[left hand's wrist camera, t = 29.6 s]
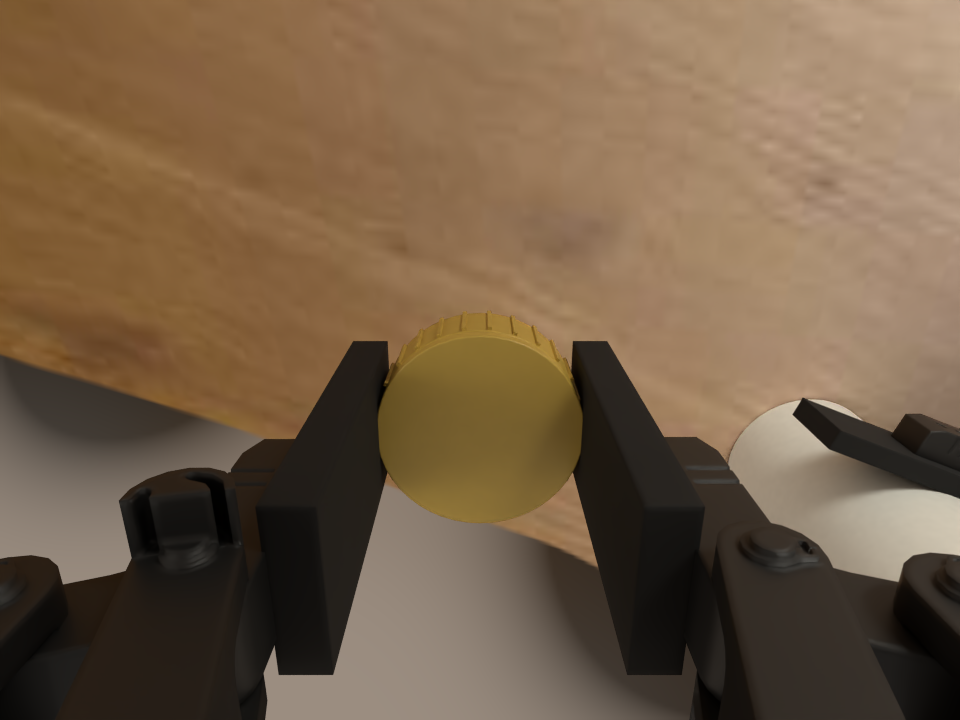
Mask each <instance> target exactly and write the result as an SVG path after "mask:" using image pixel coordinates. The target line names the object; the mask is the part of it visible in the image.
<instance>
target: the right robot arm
mask: <svg viewBox="0 0 960 720" xmlns="http://www.w3.org/2000/svg"><path fill="white" fill-rule="evenodd" d="M792 415H793V416H794V417H795V418H796V419H797V420H798V421H799V422H800V423H801V424H803V425H804V426H805V427H806V428H807V429H808V430H809V431H810V432H811V433H812V434H813V435H814V436H815V437H816V438H817V439H818V440H819V441H821V442H822V443H823V444H824V445H825V446H826V447H827V448H828V449H829V450H832V451H834V452H837V453H840V454H842V455H845V456H848V457H850V458H853V459H856V460H858V461H861V462H864V463H866V464H869V465H871V466H874V467H877V468H879V469H882V470H885V471H887V472H890V473H893V474H895V475H898V476H901V477H903V478H906V479H908V480H911V481H914V482H916V483H919V484H922V485H924V486H927V487H930V488H932V489H935V490H938V491H940V492H943V493H945V494H948V495H951V496H953V497H956V498H959V499H960V429H958V428H955V427H953V426H950V425H948V424H944V423H943V422H940V421H937V420H934V419H932V418H930V417H927V416H925V415H922V414H906V415H905V416H904V417H903V419H902V420H901V422H900V423H899V425H898V426H897V428H896V429H895V430H894V432H890V431H887V430H885V429H882V428H880V427H877V426H874V425H872V424H869V423H867V422H864V421H862V420H859V419H856V418H854V417H851V416H849V415H846V414H844V413H841V412H838V411H836V410H833V409H831V408H828V407H826V406H823V405H820V404H818V403H815V402H813V401H810V400H807V399H805V398H802V400H801V401H800V403H799V405H798V406H797V408H796V409H795V411H794V413H793V414H792Z"/></svg>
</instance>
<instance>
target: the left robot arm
mask: <svg viewBox="0 0 960 720" xmlns="http://www.w3.org/2000/svg"><path fill="white" fill-rule="evenodd" d="M388 372H389V361H388V342H387V341H353V343H352V344H351V346H350V348H349V349H348V351H347V353H346V354H345V356H344V358H343V359H342V361H341V363H340V365H339V366H338V368H337V370H336V371H335V373H334V375H333V376H332V378H331V380H330V381H329V383H328V385H327V386H326V388H325V390H324V392H323V393H322V395H321V397H320V398H319V400H318V402H317V403H316V405H315V407H314V408H313V410H312V412H311V413H310V415H309V417H308V419H307V420H306V422H305V424H304V425H303V427H302V429H301V430H300V432H299V434H298V435H297V437H296V439H264V440H262V441H261V442H259V443H258V444H256V445H255V446H253V447H252V448H250V449H248V450H247V451H245V452H244V453H242V455H241V456H240V458H239V459H238V460H237V462H236V463H235V464H234V466H233V467H232V469H231V472H229V473H228V474H227V473H226V472H225V471H221V470H217V469H212V468H186V469H181V470H175V471H170V472H166V473H163V474H161V475H158V476H155V477H152V478H149V479H147V480H145V481H143V482H141V483H140V484H138V485H136V486H135V487H133V488H131V489H130V490H129V491H128V492H127V493H126V494H125V495H124V496H123V497H122V498H121V499H120V500H119V503H120V508H121V512H122V517H123V521H124V526H125V530H126V534H127V539H128V543H129V548H130V552H131V557H132V559H131V561H130V563H129V565H128V567H127V569H126V571H124V572H121V573H117V574H113V575H109V576H104V577H99V578H94V579H89V580H84V581H79V582H74V583H69V584H64V585H63V583H62V580H61V576H60V573H59V569H58V566H57V565H56V564H55V563H53V562H52V561H51V560H50V559H49V558H44V557H38V556H32V555H29V556H18V557H7V558H3V559H0V720H265V716H266V707H267V695H266V687H265V681H264V674H263V673H264V670H265V668H266V665H267V663H268V660H269V658H270V655H271V653H272V650H273V648H274V645H275V651H276V658H277V665H278V672H279V675H333V673H334V670H335V666H336V662H337V658H338V655H339V651H340V647H341V643H342V640H343V636H344V632H345V629H346V625H347V621H348V617H349V614H350V610H351V606H352V603H353V599H354V595H355V591H356V587H357V584H358V580H359V576H360V573H361V569H362V565H363V562H364V558H365V554H366V550H367V547H368V543H369V539H370V535H371V532H372V528H373V524H374V520H375V517H376V513H377V509H378V505H379V502H380V498H381V494H382V491H383V487H384V483H385V480H386V476H387V470H386V468H385V466H384V463H383V461H382V459H381V456H380V448H379V432H378V409H379V406H380V402H381V399H382V396H383V394H384V391H385V388H386V387H385V386H383V385H384V383H385V380H386V377H387V375H388ZM571 373H572V375H573V378H574V383H575V386H576V388H577V391H578V394H579V397H580V404H581V408H582V412H583V422H582V439H581V453H580V457H579V460H578V462H577V464H576V467H575V469H574V471H573V474H574V478H575V482H576V485H577V489H578V493H579V497H580V500H581V504H582V508H583V512H584V515H585V519H586V523H587V526H588V530H589V534H590V538H591V541H592V545H593V549H594V553H595V556H596V560H597V564H598V567H599V571H600V575H601V579H602V582H603V586H604V590H605V594H606V597H607V601H608V605H609V608H610V612H611V616H612V620H613V623H614V627H615V631H616V635H617V638H618V642H619V646H620V649H621V653H622V657H623V661H624V664H625V668H626V672H627V675H682V669H683V661H684V654H685V647H686V643H687V646H688V648H689V651H690V653H691V656H692V658H693V661H694V663H695V666H696V668H697V674H696V681H695V687H694V694H693V700H692V707H691V714H690V720H960V556H959V555H954V554H942V553H931V552H930V553H924V554H918V555H913V556H912V557H910V558H909V559H908V560H907V561H906V562H904V564H903V567H902V571H901V575H900V578H899V582H896V581H891V580H886V579H881V578H876V577H871V576H866V575H861V574H856V573H851V572H847V571H843V570H840V569H836V568H833V566H832V564H831V562H830V560H829V558H828V556H827V555H826V554H825V553H824V551H823V550H822V549H821V548H820V546H819V545H818V544H816V543H815V542H814V541H812V540H811V539H809V538H808V537H806V536H805V535H803V534H802V533H799V532H797V531H795V530H792V529H790V528H787V527H785V526H782V525H778V524H774V523H771V522H770V521H769V520H768V518H767V517H766V516H765V514H764V513H763V512H762V510H761V509H760V507H759V506H758V505H757V503H756V502H755V501H754V499H753V498H752V497H751V495H750V494H749V492H748V491H747V490H746V488H745V487H744V486H743V484H740V480H739V479H738V478H737V476H736V475H735V473H734V472H733V471H732V470H730V467H729V465H728V464H727V463H726V461H725V460H724V458H723V457H722V456H721V454H720V453H719V452H718V451H717V450H716V449H714V448H713V447H711V446H709V445H708V444H706V443H705V442H703V441H702V440H700V439H698V438H697V437H664V436H663V435H662V433H661V431H660V430H659V428H658V426H657V424H656V423H655V421H654V419H653V418H652V416H651V414H650V413H649V411H648V409H647V408H646V406H645V404H644V403H643V401H642V399H641V398H640V396H639V394H638V392H637V391H636V389H635V387H634V386H633V384H632V382H631V381H630V379H629V377H628V376H627V374H626V372H625V371H624V369H623V367H622V365H621V364H620V362H619V360H618V359H617V357H616V355H615V354H614V352H613V350H612V349H611V347H610V345H609V344H608V342H607V341H573V350H572V369H571Z"/></svg>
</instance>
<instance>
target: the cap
mask: <svg viewBox="0 0 960 720" xmlns="http://www.w3.org/2000/svg"><path fill="white" fill-rule="evenodd" d="M383 386H385V387H386V388H385V391H384V394H383V396H382V399H381V402H380V406H379V409H378V432H379V448H380V456H381V459H382V461H383V463H384V466H385V468H386V470H387V472H388V473H389V475H390V477H391V478H392V480H393V481H394V482H395V483H396V485H397V486H398V487H399V488H400V490H401V491H403V492H404V493H405V494H406V495H407V496H408V497H409V498H410V499H411V500H413V501H414V502H415V503H417V504H418V505H420V506H421V507H423V508H425V509H426V510H428V511H430V512H432V513H435V514H437V515H439V516H442V517H445V518H448V519H452V520H456V521H462V522H469V523H493V522H499V521H505V520H508V519H512V518H516V517H519V516H521V515H523V514H526V513H528V512H530V511H532V510H534V509H536V508H538V507H539V506H541V505H542V504H544V503H545V502H546V501H548V500H549V499H550V498H552V497H553V496H554V495H555V494H556V493H557V492H558V491H559V490H560V489H561V488H562V486H563V485H564V484H565V483H566V482H567V480H568V479H569V477H570V475H571V474H572V472H573V471H574V469H575V467H576V464H577V462H578V460H579V457H580V453H581V439H582V422H583V412H582V408H581V404H580V397H579V394H578V391H577V388H576V386H575V383H574V378H573V375H572V373H571V370H570V367H569V365H568V362H567V360H566V358H562V357H561V355H560V354H559V352H558V351H557V349H556V347H555V344H554V341H553V340H550V341H549V340H548V339H546V338H545V337H544V336H543V335H542V334H541V333H539V332H538V331H537V328H536V326H534V325H533V326H532V327H530V326H529V325H527V324H525V323H522V322H520V321H518V320H515V316H512V315H511V317H510V318H509V317H506V316H502V315H497V314H491V311H487V313H473V314H467V311H466V312H463V315H459V316H454V317H451V318H448V319H445V320H444V318H440V320H439V322H438V323H436V324H434V325H432V326H430V327H429V328H427V329H425V330H423V329H420V330H419V333H418V335H417V336H416V337H415V338H414V339H413V340H412V341H411V342H410V343H409V344H408V345H406V344H404V345H403V347H402V350H401V352H400V355H399V357H398V359H397V361H396V363H392V364H391V367H390V369H389V372H388V375H387V377H386V380H385V383H384V385H383Z"/></svg>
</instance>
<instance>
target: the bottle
mask: <svg viewBox="0 0 960 720" xmlns="http://www.w3.org/2000/svg"><path fill="white" fill-rule="evenodd" d="M800 401H801V400H798V401H793V402H789V403H785V404H783V405H780V406H777V407H775V408H773V409H771V410H769V411H767V412H765V413H764V414H762V415H761V416H759V417H758V418H757V419H755V420H754V421H753V422H752V423H751V424H750V425H749V426H748V427H747V428H746V429H745V430H744V431H743V432H742V434H741V435H740V436H739V438H738V439H737V441H736V443H735V445H734V447H733V449H732V451H731V454H730V458H729V462H728V465H729V467H730V470H732V471H733V472H734V473H735V475H736V476H737V478H738V479H739V480H740V484H743V486H744V487H745V488H746V490H747V491H748V492H749V494H750V495H751V497H752V498H753V499H754V501H755V502H756V503H757V505H758V506H759V507H760V509H761V510H762V512H763V513H764V514H765V516H766V517H767V518H768V520H769V521H770V522H771V523H774V524H778V525H782V526H785V527H787V528H790V529H792V530H795V531H797V532H799V533H802V534H803V535H805V536H806V537H808V538H809V539H811V540H812V541H814V542H815V543H816V544H818V545H819V546H820V548H821V549H822V550H823V551H824V553H825V554H826V555H827V556H828V558H829V560H830V562H831V564H832V566H833V568H836V569H840V570H843V571H847V572H851V573H856V574H861V575H866V576H871V577H876V578H881V579H886V580H891V581H896V582H899V578H900V575H901V571H902V567H903V564H904V562H906V561H907V560H908V559H909V558H910V557H912V556H913V555H918V554H924V553H930V552H931V553H942V554H954V555H959V556H960V499H959V498H956V497H953V496H951V495H948V494H945V493H943V492H940V491H938V490H935V489H932V488H930V487H927V486H924V485H922V484H919V483H916V482H914V481H911V480H908V479H906V478H903V477H901V476H898V475H895V474H893V473H890V472H887V471H885V470H882V469H879V468H877V467H874V466H871V465H869V464H866V463H864V462H861V461H858V460H856V459H853V458H850V457H848V456H845V455H842V454H840V453H837V452H834V451H832V450H829V449H828V448H827V447H826V446H825V445H824V444H823V443H822V442H821V441H819V440H818V439H817V438H816V437H815V436H814V435H813V434H812V433H811V432H810V431H809V430H808V429H807V428H806V427H805V426H804V425H803V424H801V423H800V422H799V421H798V420H797V419H796V418H795V417H794V416H793V415H792V414H793V413H794V411H795V409H796V408H797V406H798V405H799V403H800ZM810 401H813V402H815V403H818V404H820V405H823V406H826V407H828V408H831V409H833V410H836V411H838V412H841V413H844V414H846V415H849V416H851V417H854V418H856V419H859V420H861V419H860V418H859V417H858V416H856V415H855V414H854V413H853V412H851V411H850V410H848V409H847V408H845V407H843V406H841V405H838V404H836V403H833V402H829V401H825V400H816V399H810ZM862 421H863V420H862Z"/></svg>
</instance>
